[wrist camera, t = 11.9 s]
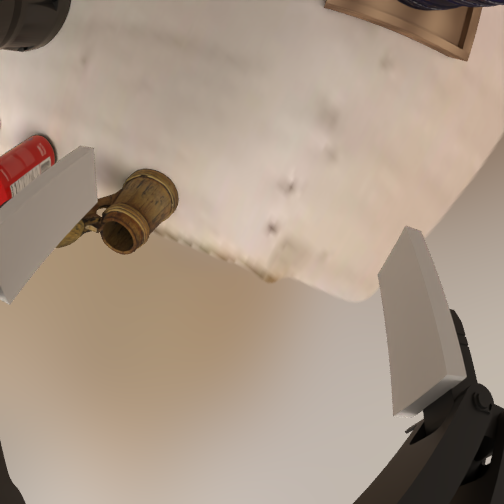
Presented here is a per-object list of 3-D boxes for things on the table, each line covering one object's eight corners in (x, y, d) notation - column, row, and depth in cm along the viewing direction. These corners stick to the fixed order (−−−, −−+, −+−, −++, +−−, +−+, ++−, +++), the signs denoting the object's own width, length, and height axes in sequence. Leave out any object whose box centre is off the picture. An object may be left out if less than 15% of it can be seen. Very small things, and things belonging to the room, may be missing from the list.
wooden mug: (112, 146, 43) (35, 209, 29) (186, 186, 45) (131, 267, 32) (100, 189, 48) (35, 257, 35) (167, 227, 51) (117, 308, 37)
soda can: (63, 168, 47) (7, 216, 35) (37, 174, 48) (-16, 219, 37) (50, 128, 42) (-13, 169, 30) (24, 137, 43) (-34, 177, 32)
